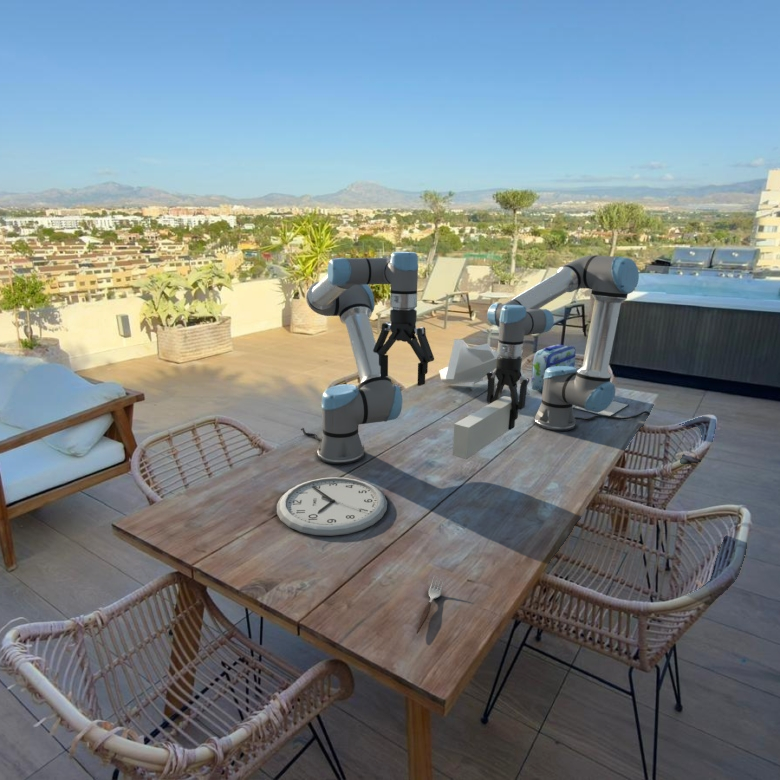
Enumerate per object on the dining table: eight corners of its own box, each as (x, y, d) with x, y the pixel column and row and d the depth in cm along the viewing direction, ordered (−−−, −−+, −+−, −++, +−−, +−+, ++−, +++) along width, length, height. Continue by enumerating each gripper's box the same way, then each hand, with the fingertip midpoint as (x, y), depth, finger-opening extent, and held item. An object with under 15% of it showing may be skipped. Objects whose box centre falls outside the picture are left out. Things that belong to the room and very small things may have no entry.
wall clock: (392, 527, 129) (268, 531, 127) (391, 533, 130) (269, 537, 127) (383, 473, 158) (282, 475, 155) (383, 478, 158) (282, 480, 156)
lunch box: (547, 397, 237) (552, 352, 231) (526, 391, 245) (531, 348, 238) (574, 386, 255) (580, 344, 249) (554, 381, 262) (559, 340, 256)
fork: (410, 633, 98) (410, 625, 97) (432, 582, 112) (433, 574, 112) (423, 637, 97) (423, 628, 96) (444, 585, 111) (445, 577, 111)
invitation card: (608, 416, 214) (573, 407, 224) (608, 416, 214) (573, 408, 224) (628, 404, 229) (594, 396, 238) (628, 405, 229) (594, 397, 238)
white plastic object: (461, 429, 252) (437, 405, 227) (444, 352, 274) (420, 323, 250) (535, 404, 240) (518, 377, 215) (510, 326, 262) (492, 293, 237)
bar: (501, 423, 172) (503, 395, 169) (514, 426, 170) (517, 398, 167) (452, 455, 148) (454, 423, 145) (466, 459, 145) (468, 427, 142)
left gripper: (361, 305, 152) (361, 376, 158) (433, 314, 138) (430, 391, 144) (377, 303, 158) (377, 371, 164) (448, 311, 143) (445, 385, 149)
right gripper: (478, 353, 163) (473, 423, 170) (532, 362, 153) (524, 436, 160) (489, 349, 169) (484, 417, 176) (541, 358, 159) (534, 429, 166)
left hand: (402, 380), depth 154 cm, fingers open, 13 cm apart
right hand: (503, 426), depth 168 cm, fingers closed on bar, 5 cm apart
